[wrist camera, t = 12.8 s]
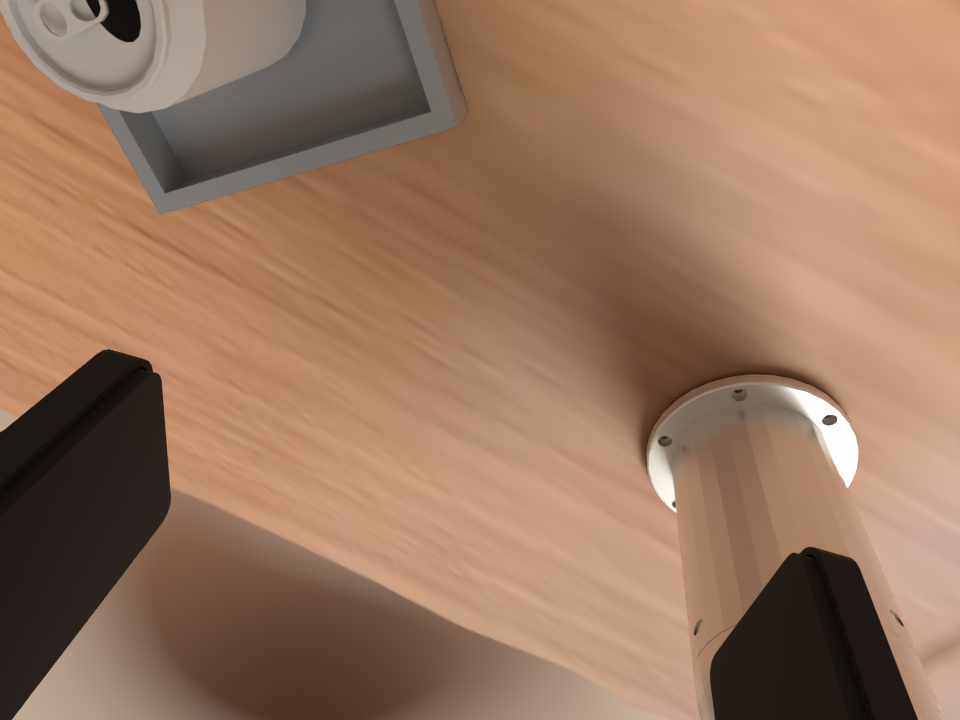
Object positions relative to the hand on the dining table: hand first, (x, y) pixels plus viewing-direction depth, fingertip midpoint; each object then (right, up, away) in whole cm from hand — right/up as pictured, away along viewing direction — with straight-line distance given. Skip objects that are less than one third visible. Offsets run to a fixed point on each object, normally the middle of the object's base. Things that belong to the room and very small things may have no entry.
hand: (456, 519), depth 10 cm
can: (-11, +21, +22) cm, 33 cm away
